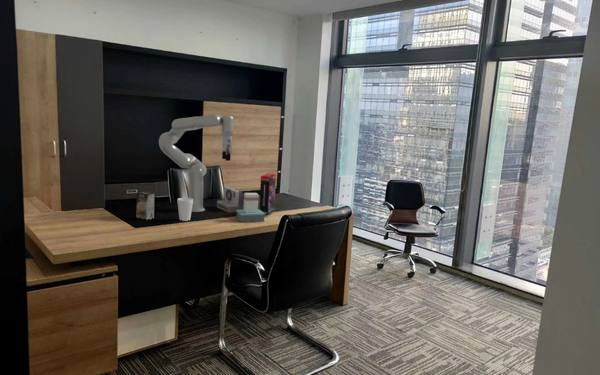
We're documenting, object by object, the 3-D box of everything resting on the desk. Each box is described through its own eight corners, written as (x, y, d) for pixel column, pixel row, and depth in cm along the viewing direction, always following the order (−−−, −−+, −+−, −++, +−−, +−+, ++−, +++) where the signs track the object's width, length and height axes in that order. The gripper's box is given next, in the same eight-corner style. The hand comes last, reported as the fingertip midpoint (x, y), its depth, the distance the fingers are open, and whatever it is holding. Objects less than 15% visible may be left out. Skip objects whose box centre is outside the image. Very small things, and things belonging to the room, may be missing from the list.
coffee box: (135, 217, 270) (135, 192, 267) (143, 216, 276) (143, 191, 273) (147, 220, 266) (147, 194, 264) (154, 218, 272) (154, 192, 269)
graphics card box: (268, 216, 298) (270, 176, 294) (258, 215, 300) (260, 175, 295) (274, 211, 315) (276, 174, 311) (265, 210, 316) (267, 173, 312)
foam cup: (195, 219, 277) (195, 199, 275) (187, 222, 268) (188, 201, 266) (181, 217, 279) (182, 197, 277) (174, 220, 271) (174, 199, 268)
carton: (257, 212, 284) (258, 194, 282) (245, 212, 280) (246, 194, 279) (255, 210, 289) (256, 192, 287) (243, 211, 286) (244, 192, 284)
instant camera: (215, 206, 318) (215, 186, 316) (242, 205, 328) (242, 185, 326) (224, 213, 300) (225, 191, 298) (252, 211, 310) (253, 191, 307)
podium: (240, 222, 276) (241, 214, 275) (235, 217, 288) (236, 209, 287) (265, 221, 283) (265, 213, 282) (258, 217, 294) (259, 209, 294)
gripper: (235, 135, 287) (234, 161, 289) (229, 133, 302) (228, 158, 305) (224, 134, 284) (223, 161, 286) (218, 133, 299) (217, 158, 302)
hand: (226, 159), depth 296 cm, fingers open, 9 cm apart
